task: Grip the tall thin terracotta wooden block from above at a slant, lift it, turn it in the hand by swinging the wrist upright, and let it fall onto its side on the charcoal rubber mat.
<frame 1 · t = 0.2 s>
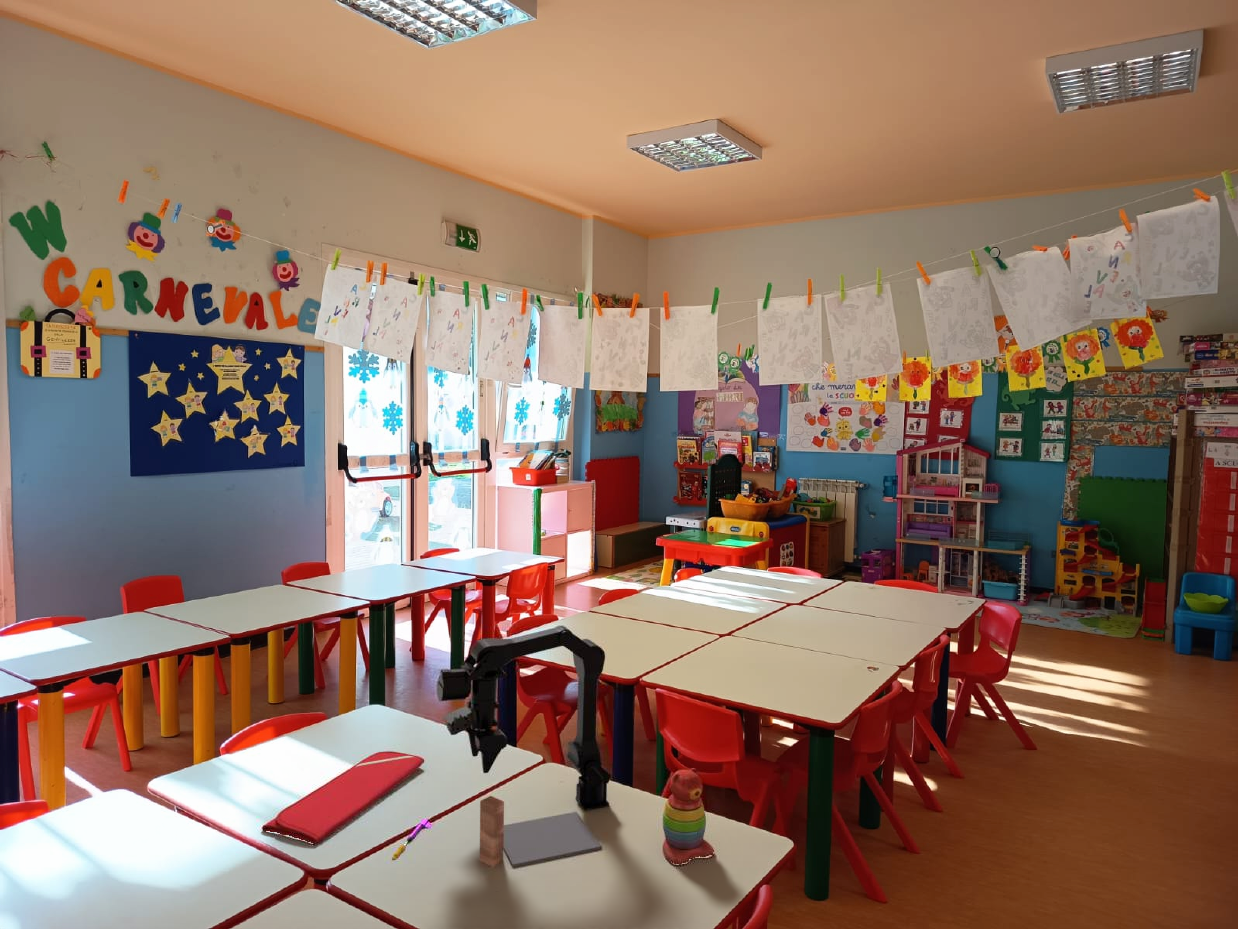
hand: (480, 764, 187), 14 cm above the table, tool pointing down, fingers open, 9 cm apart
terracotta block: (491, 860, 174), on the table
stacking bear: (684, 851, 180), on the table
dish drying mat: (349, 800, 200), on the table
charcoal mat: (546, 839, 183), on the table
pink dart: (413, 842, 182), on the table
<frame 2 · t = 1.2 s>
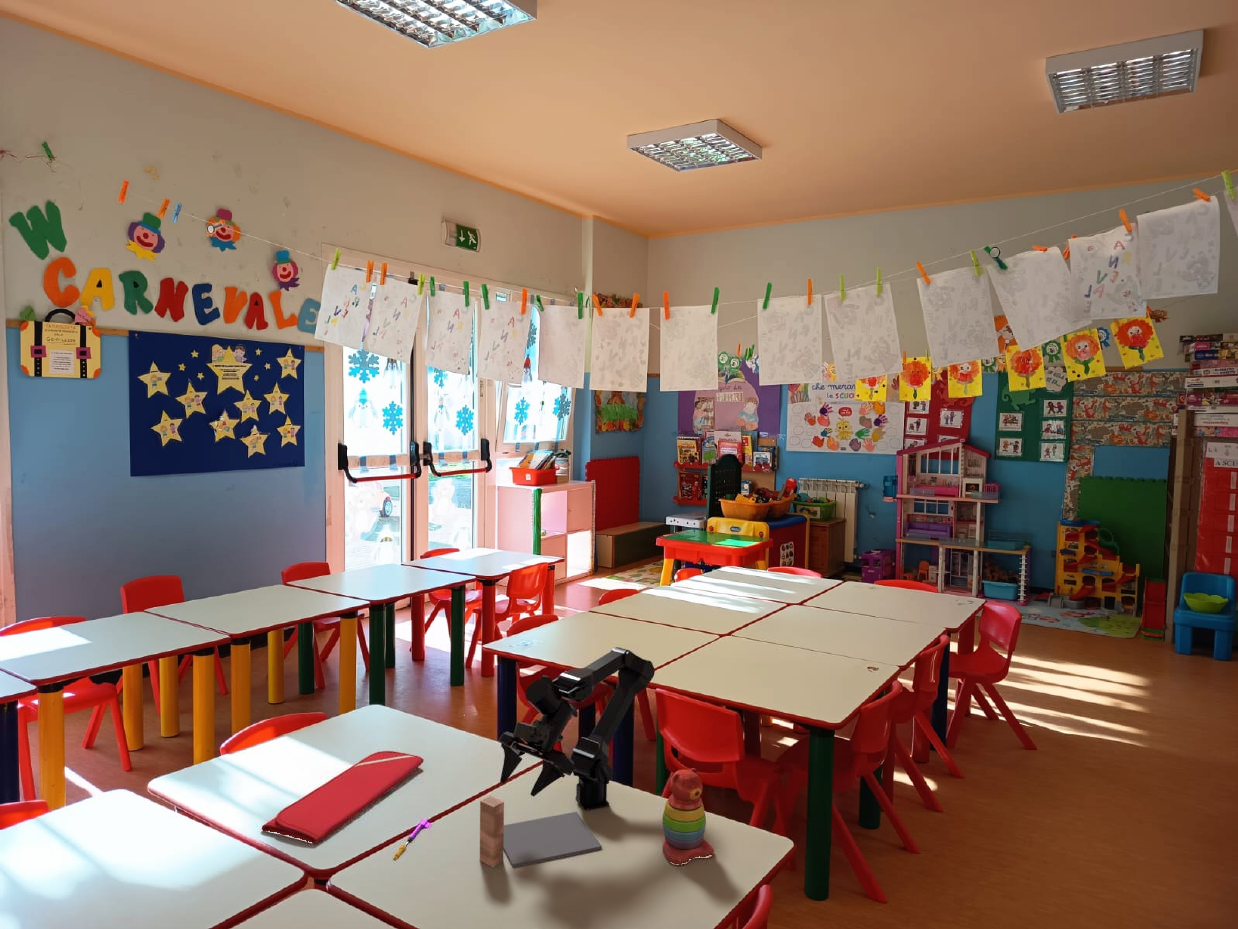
hand: (516, 789, 179), 13 cm above the table, tool tilted 45°, fingers open, 9 cm apart
nothing on the table moved.
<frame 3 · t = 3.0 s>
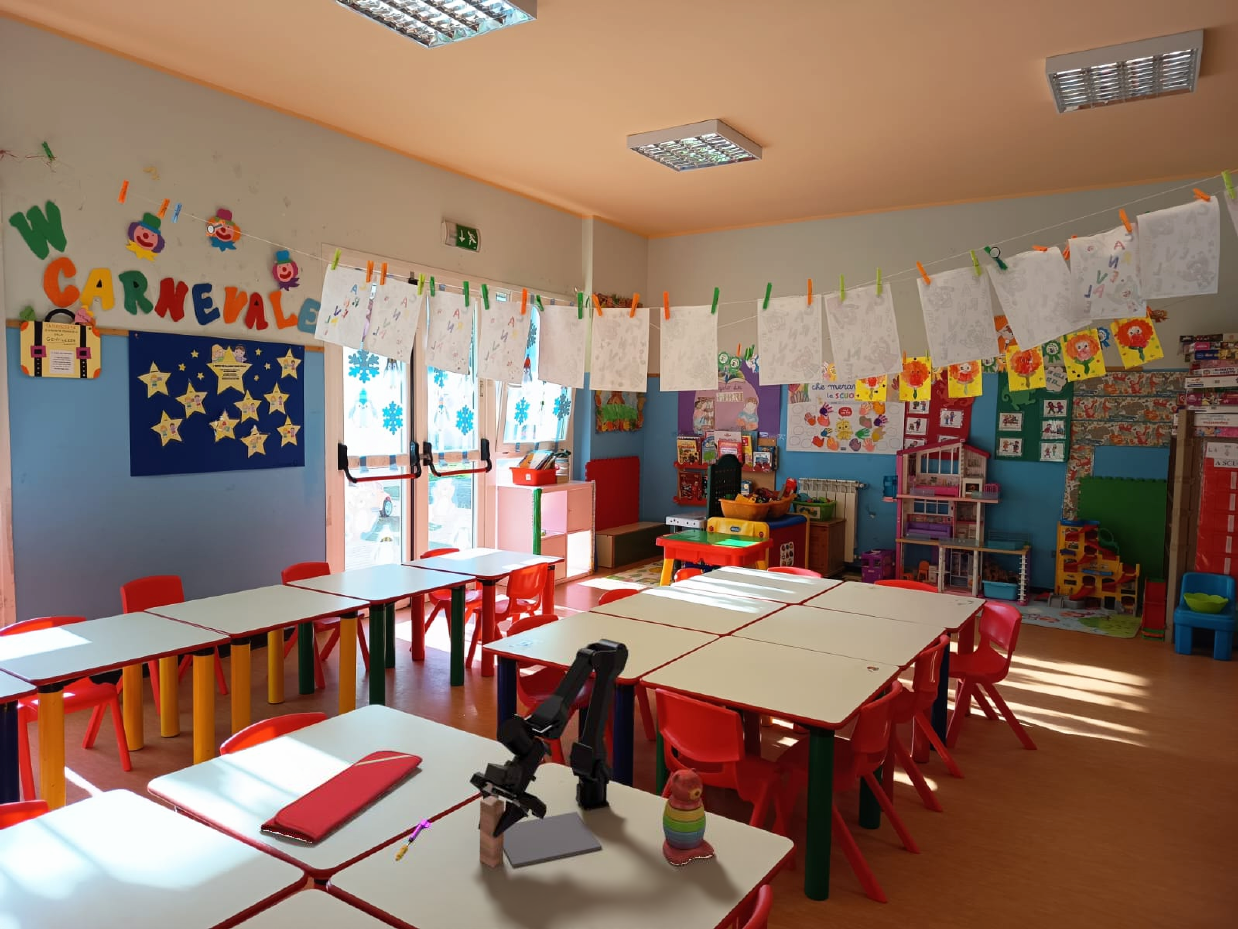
hand: (486, 833, 173), 7 cm above the table, tool tilted 45°, fingers closed on terracotta block, 4 cm apart
terracotta block: (491, 860, 174), on the table, touching gripper
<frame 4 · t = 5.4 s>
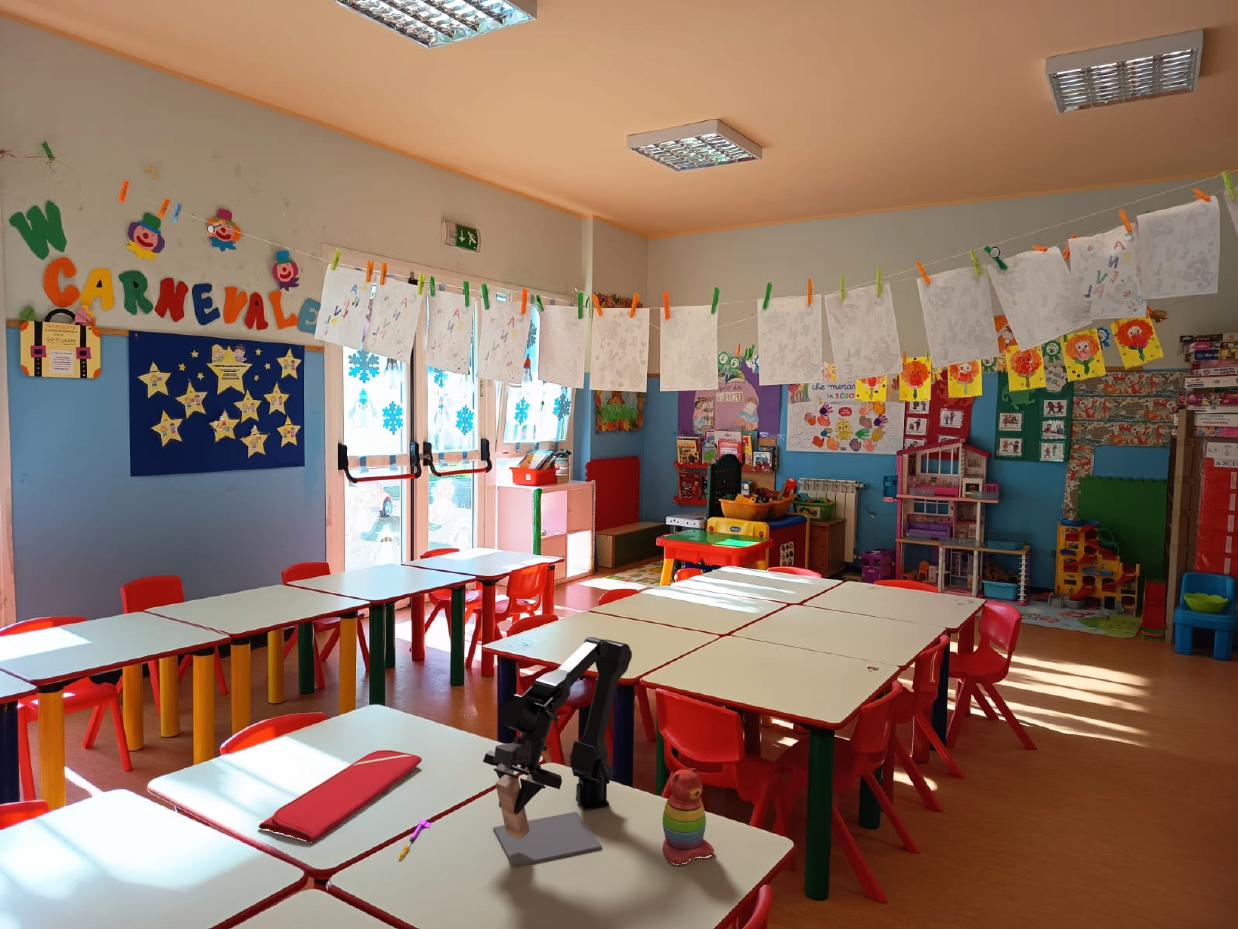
hand: (508, 810, 175), 10 cm above the table, tool tilted 30°, fingers closed on terracotta block, 4 cm apart
terracotta block: (518, 832, 178), point 4 cm above the table, tilted 15°, touching gripper
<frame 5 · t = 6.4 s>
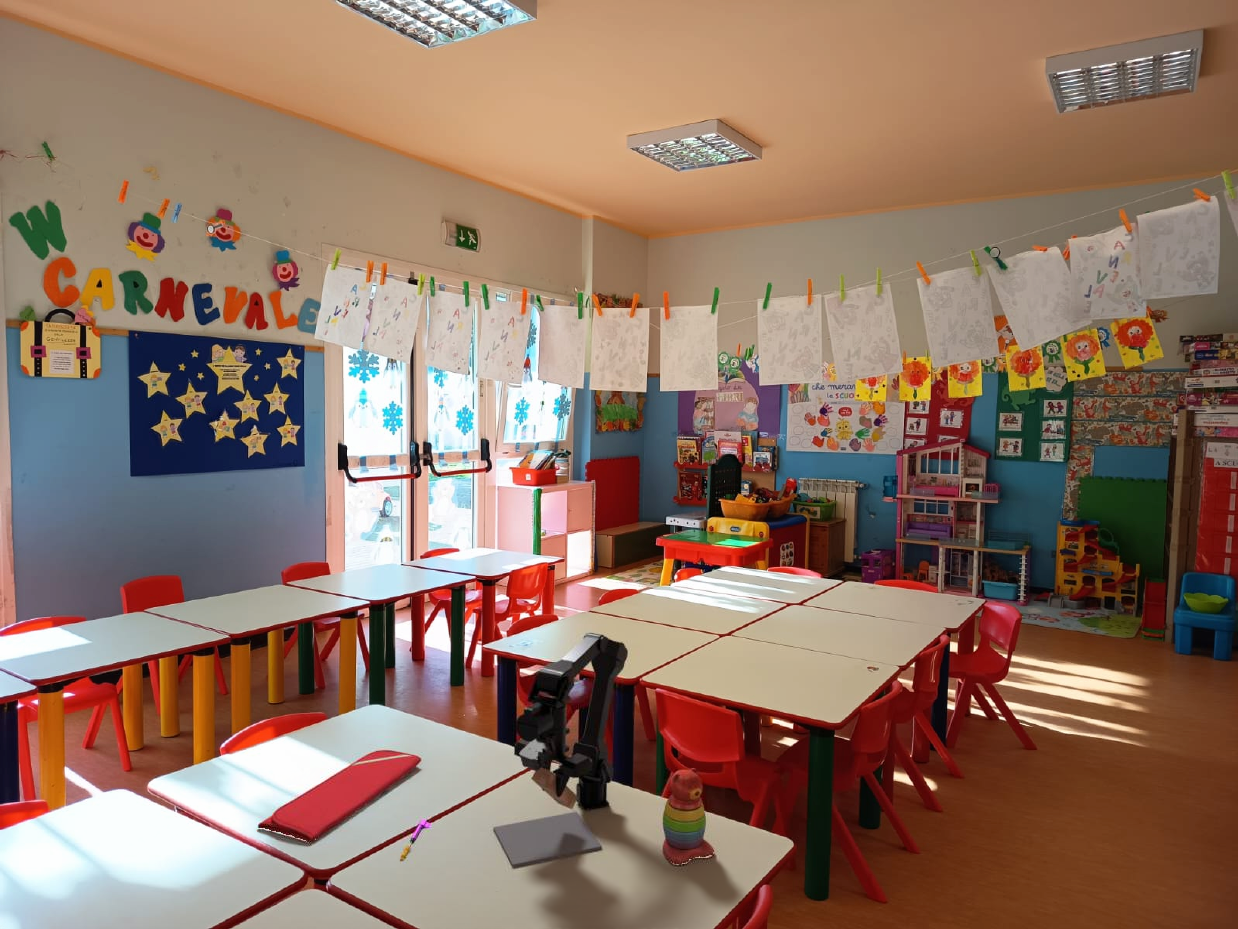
hand: (551, 793, 183), 10 cm above the table, tool pointing down, fingers closed on terracotta block, 4 cm apart
terracotta block: (568, 800, 188), point 6 cm above the table, tilted 45°, touching gripper
when the fingers open (7 cm above the table, at t = 7.8 s): terracotta block moves 2 cm and tips over, resting on charcoal mat.
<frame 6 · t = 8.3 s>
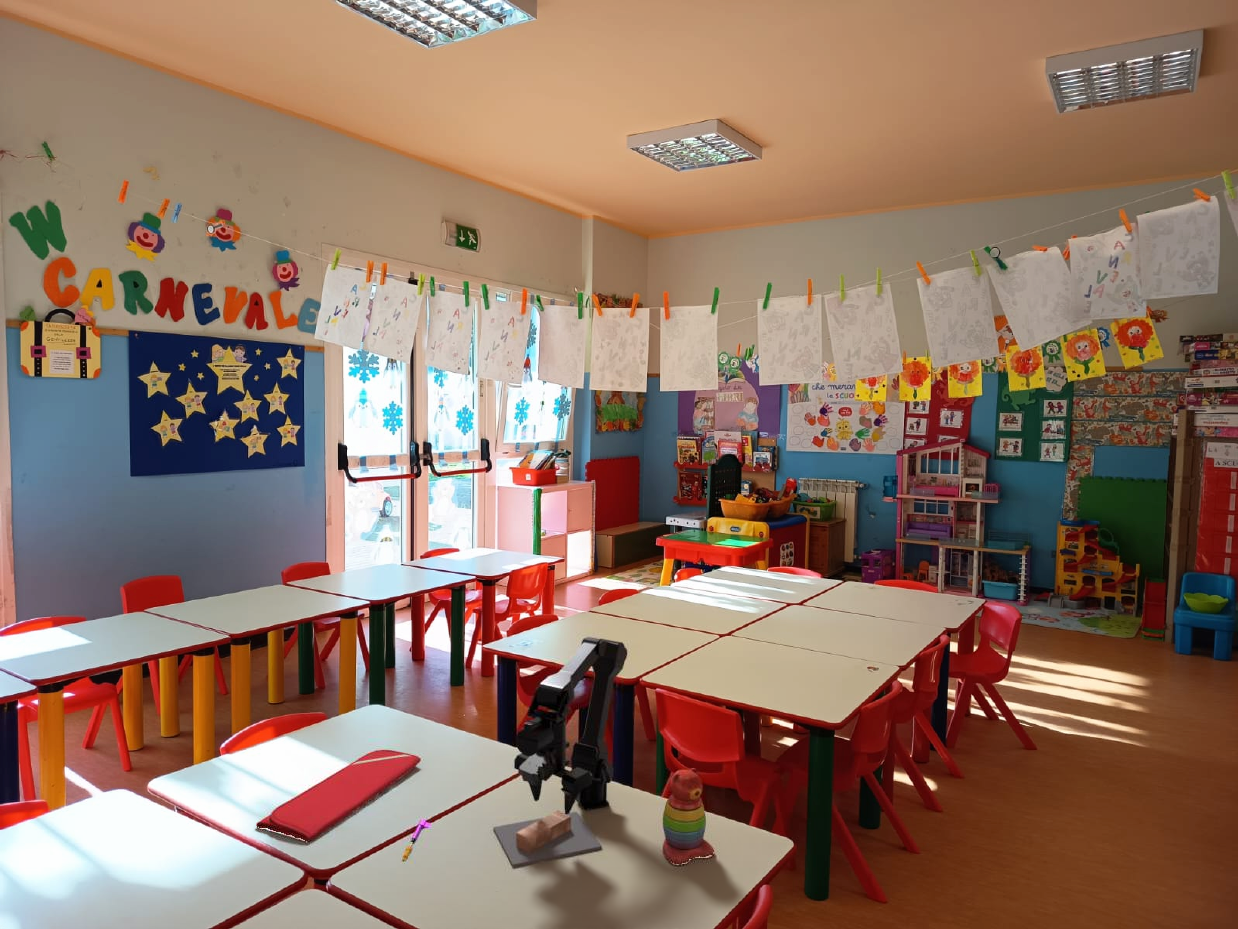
hand: (551, 807, 184), 7 cm above the table, tool pointing down, fingers open, 9 cm apart
terracotta block: (564, 819, 188), point 2 cm above the table, tilted 90°, touching charcoal mat
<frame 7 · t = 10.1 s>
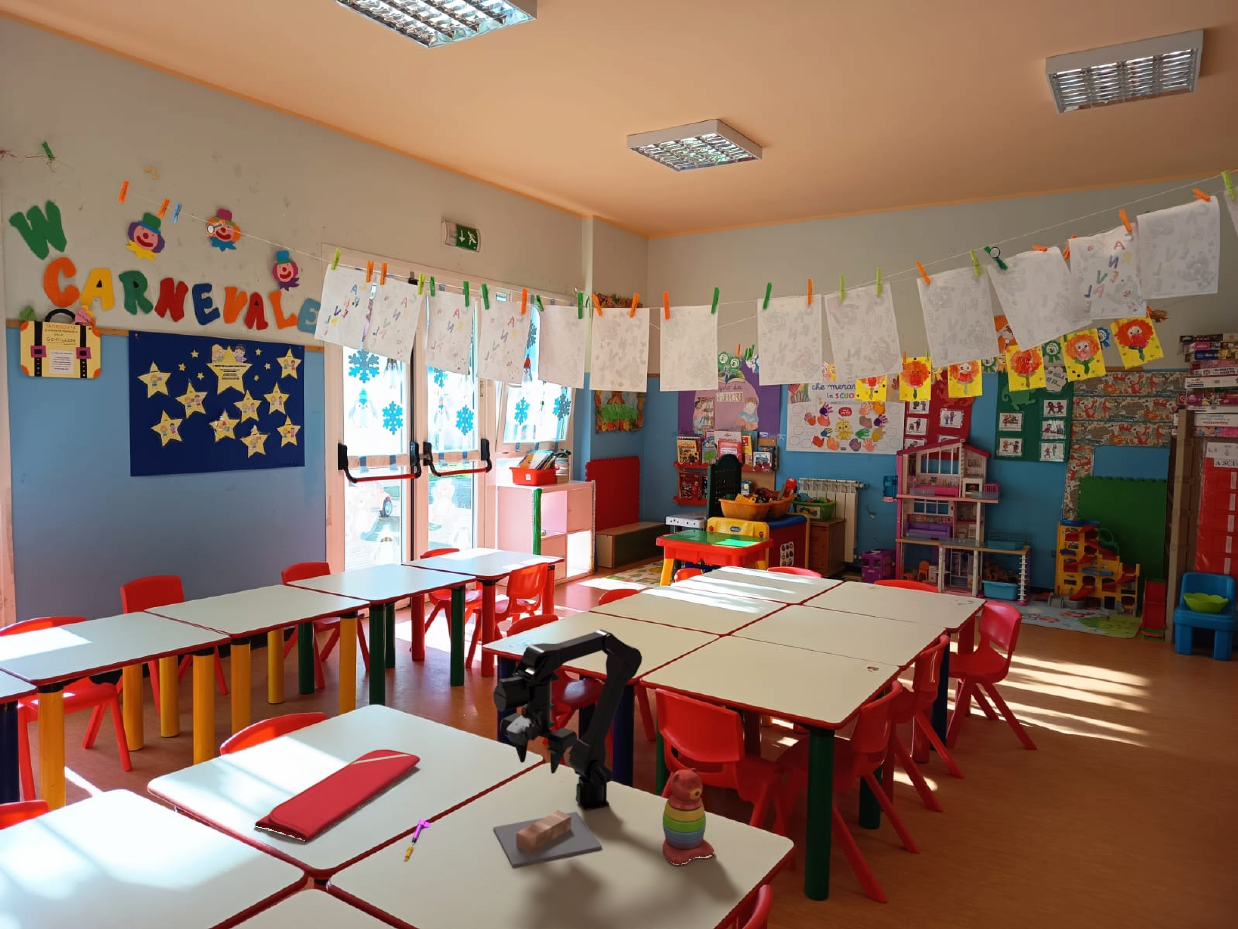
hand: (537, 767, 190), 13 cm above the table, tool pointing down, fingers open, 9 cm apart
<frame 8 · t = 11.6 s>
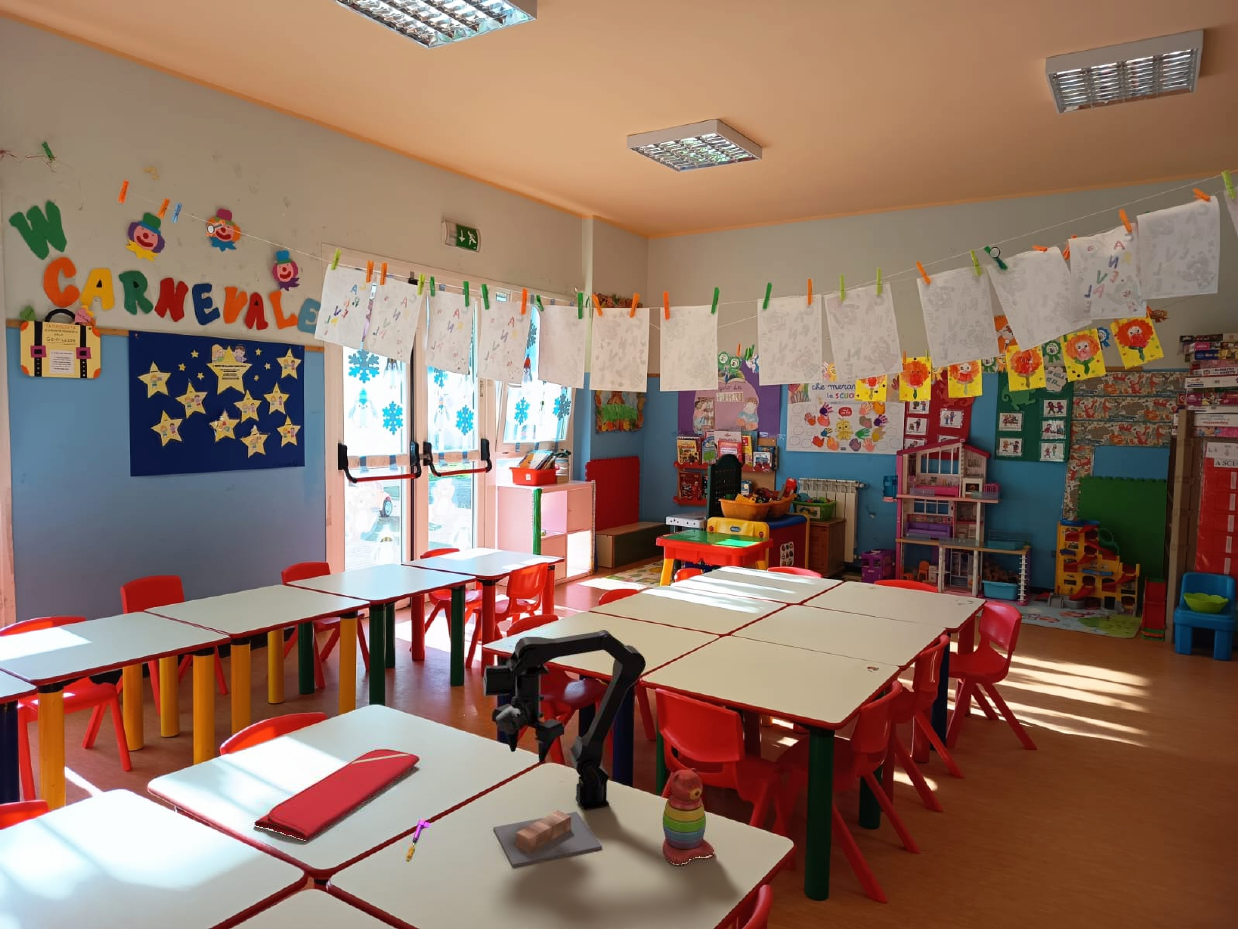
hand: (527, 757, 195), 13 cm above the table, tool pointing down, fingers open, 9 cm apart
at the end: terracotta block tilted 90°; terracotta block inside the target area on the charcoal mat (5.9 cm from its centre), point 2.1 cm above the charcoal mat's base; the gripper is holding nothing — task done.
